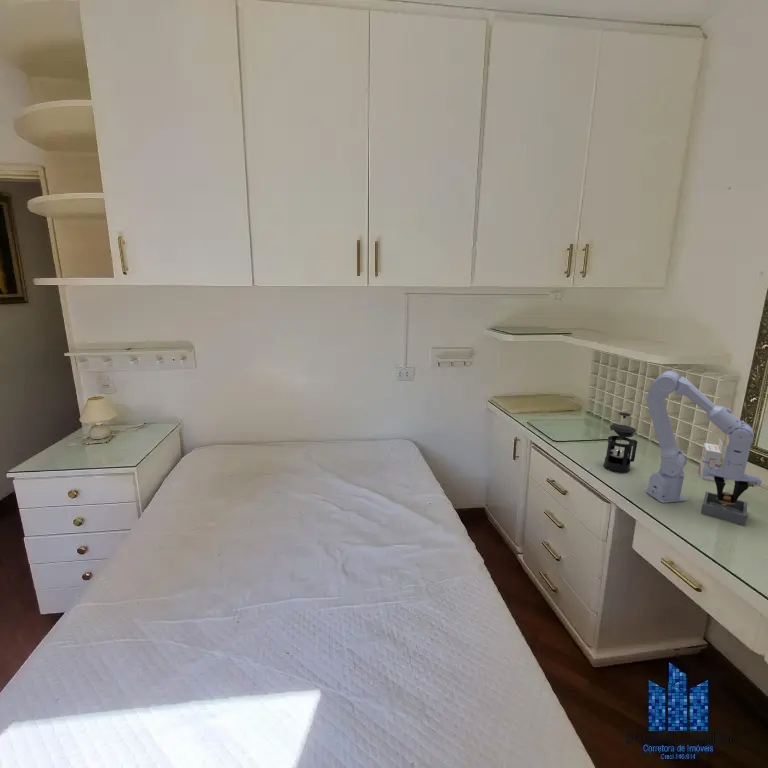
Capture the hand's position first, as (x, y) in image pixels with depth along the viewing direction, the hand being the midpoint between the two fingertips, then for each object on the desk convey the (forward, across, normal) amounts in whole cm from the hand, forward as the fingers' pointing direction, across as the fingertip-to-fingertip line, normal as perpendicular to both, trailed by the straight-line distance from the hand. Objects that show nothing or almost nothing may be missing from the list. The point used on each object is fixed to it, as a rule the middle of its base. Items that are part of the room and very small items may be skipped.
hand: (725, 500), depth 141 cm
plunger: (+5, 0, 0) cm, 5 cm away
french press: (+5, +31, -21) cm, 37 cm away
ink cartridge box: (+5, 0, -30) cm, 30 cm away
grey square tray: (+4, 0, 0) cm, 4 cm away
